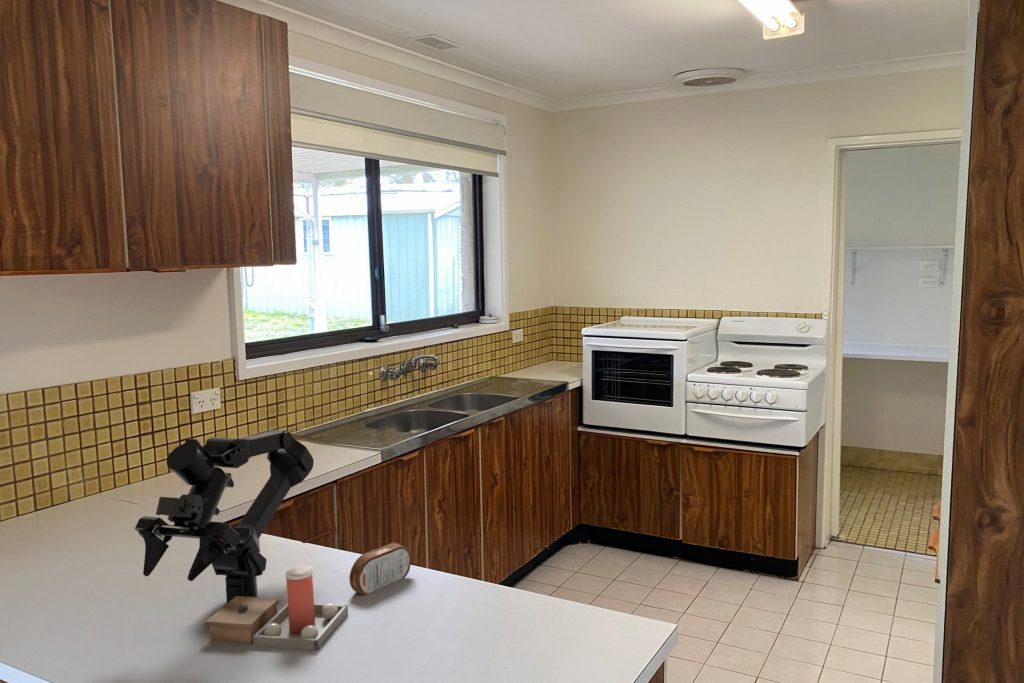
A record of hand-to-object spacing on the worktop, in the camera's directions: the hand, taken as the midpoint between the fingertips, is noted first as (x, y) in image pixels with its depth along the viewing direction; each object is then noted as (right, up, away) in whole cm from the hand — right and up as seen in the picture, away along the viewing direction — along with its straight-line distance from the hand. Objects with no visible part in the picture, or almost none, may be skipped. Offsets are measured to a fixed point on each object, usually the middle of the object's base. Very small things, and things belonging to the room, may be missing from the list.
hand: (167, 577), depth 139 cm
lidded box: (+11, -12, +8) cm, 18 cm away
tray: (+22, -12, +7) cm, 26 cm away
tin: (+33, -10, +26) cm, 44 cm away
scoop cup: (+22, -11, +7) cm, 26 cm away
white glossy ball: (+24, -12, +2) cm, 27 cm away
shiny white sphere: (+18, -12, +3) cm, 22 cm away
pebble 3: (+26, -11, +11) cm, 30 cm away
